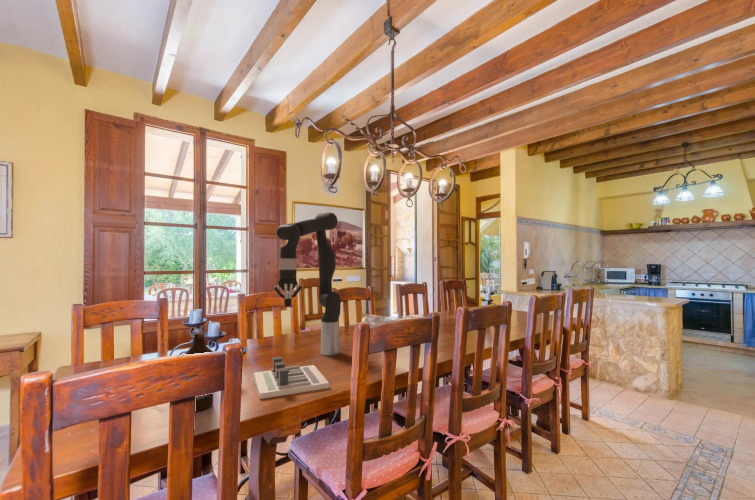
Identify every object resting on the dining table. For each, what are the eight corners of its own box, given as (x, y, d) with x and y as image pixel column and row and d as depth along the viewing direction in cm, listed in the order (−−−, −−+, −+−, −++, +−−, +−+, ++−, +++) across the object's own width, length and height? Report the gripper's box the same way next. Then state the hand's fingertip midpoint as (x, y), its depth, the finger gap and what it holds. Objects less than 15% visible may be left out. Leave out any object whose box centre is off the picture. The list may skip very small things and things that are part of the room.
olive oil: (178, 404, 117) (180, 332, 118) (212, 397, 123) (213, 328, 124) (180, 416, 108) (182, 338, 109) (216, 408, 114) (218, 334, 115)
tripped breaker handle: (283, 375, 139) (283, 361, 139) (285, 378, 136) (285, 364, 136) (274, 376, 138) (274, 362, 138) (275, 379, 134) (276, 365, 135)
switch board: (313, 369, 155) (314, 351, 155) (328, 388, 133) (329, 366, 133) (253, 377, 144) (254, 357, 144) (259, 399, 122) (259, 376, 122)
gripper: (300, 268, 159) (300, 305, 158) (271, 268, 153) (271, 306, 153) (304, 268, 152) (304, 307, 152) (274, 269, 146) (273, 309, 146)
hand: (287, 306), depth 152 cm, fingers closed
